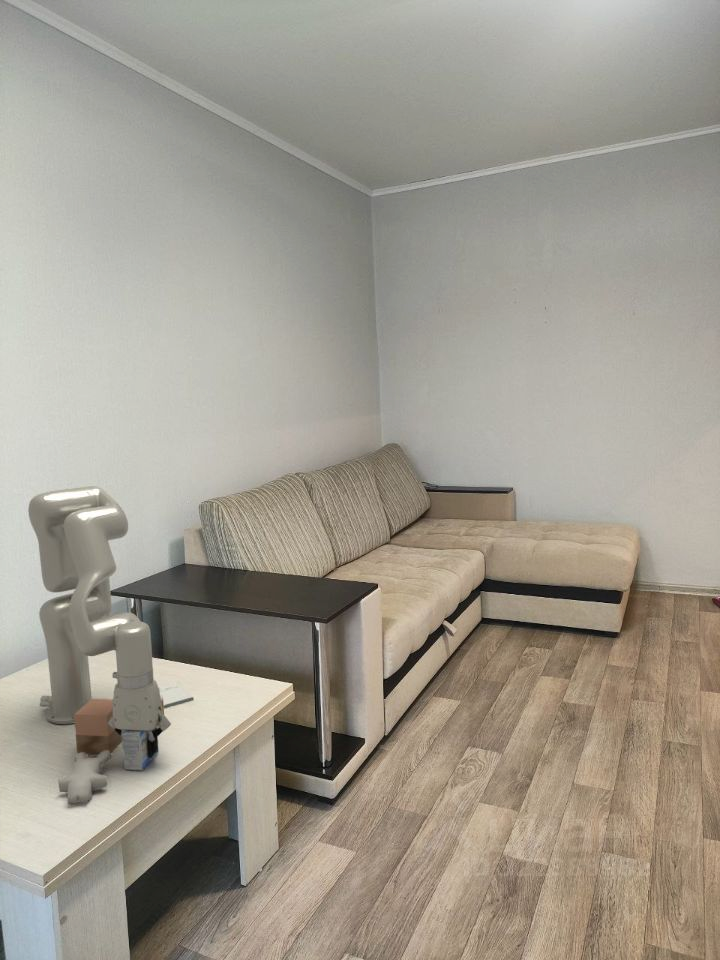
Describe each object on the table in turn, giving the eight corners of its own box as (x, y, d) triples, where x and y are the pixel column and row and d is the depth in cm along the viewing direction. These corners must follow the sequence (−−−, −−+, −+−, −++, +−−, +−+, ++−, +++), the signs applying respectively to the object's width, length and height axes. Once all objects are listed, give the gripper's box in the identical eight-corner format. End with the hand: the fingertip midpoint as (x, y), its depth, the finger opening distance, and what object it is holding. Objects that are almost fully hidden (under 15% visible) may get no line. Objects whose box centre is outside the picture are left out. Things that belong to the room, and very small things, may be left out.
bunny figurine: (51, 791, 140) (70, 745, 154) (54, 813, 141) (73, 765, 155) (100, 786, 141) (114, 741, 155) (103, 807, 142) (117, 760, 157)
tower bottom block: (77, 754, 161) (75, 734, 161) (94, 737, 169) (93, 718, 168) (109, 756, 160) (108, 736, 159) (125, 738, 168) (124, 719, 167)
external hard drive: (163, 710, 183) (150, 693, 193) (194, 702, 187) (178, 685, 197) (163, 705, 182) (149, 688, 193) (193, 696, 187) (178, 680, 197)
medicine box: (142, 771, 153) (139, 735, 151) (123, 769, 154) (120, 733, 152) (159, 752, 160) (156, 717, 159) (141, 750, 161) (139, 716, 160)
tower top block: (76, 734, 160) (74, 714, 160) (94, 718, 168) (92, 698, 168) (108, 736, 159) (106, 716, 159) (124, 719, 167) (123, 700, 166)
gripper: (91, 683, 151) (97, 761, 154) (165, 687, 149) (170, 765, 152) (108, 669, 159) (114, 743, 162) (178, 672, 157) (183, 747, 159)
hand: (141, 753), depth 157 cm, fingers closed on medicine box, 4 cm apart
